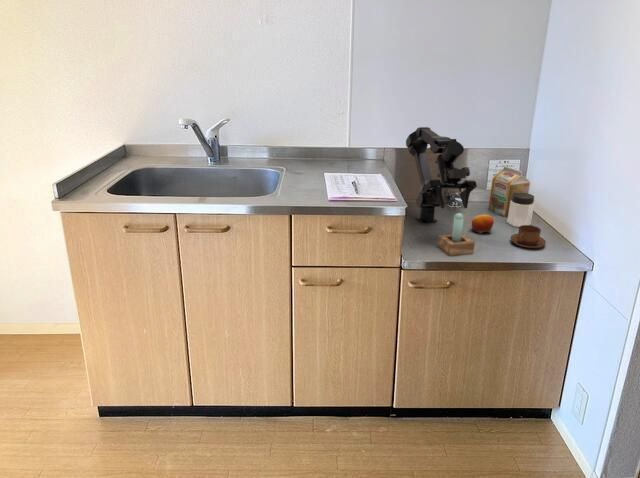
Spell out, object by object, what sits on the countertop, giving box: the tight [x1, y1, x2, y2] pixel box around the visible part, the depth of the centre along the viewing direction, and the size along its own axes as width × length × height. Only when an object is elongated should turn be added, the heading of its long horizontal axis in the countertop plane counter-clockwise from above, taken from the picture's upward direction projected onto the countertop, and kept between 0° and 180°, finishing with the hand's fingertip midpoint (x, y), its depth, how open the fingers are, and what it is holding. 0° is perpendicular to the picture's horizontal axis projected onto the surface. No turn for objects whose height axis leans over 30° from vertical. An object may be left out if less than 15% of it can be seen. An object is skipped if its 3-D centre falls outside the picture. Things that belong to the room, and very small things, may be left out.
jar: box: [506, 192, 535, 228], centre depth 198 cm, size 9×8×12 cm
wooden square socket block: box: [437, 233, 476, 257], centre depth 175 cm, size 9×9×4 cm
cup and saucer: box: [510, 225, 547, 249], centre depth 180 cm, size 12×12×6 cm
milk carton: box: [487, 165, 531, 218], centre depth 210 cm, size 11×11×19 cm
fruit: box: [471, 214, 495, 234], centre depth 191 cm, size 8×8×8 cm
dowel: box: [451, 212, 465, 242], centre depth 174 cm, size 3×3×14 cm
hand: (454, 208), depth 177 cm, fingers open, 9 cm apart
